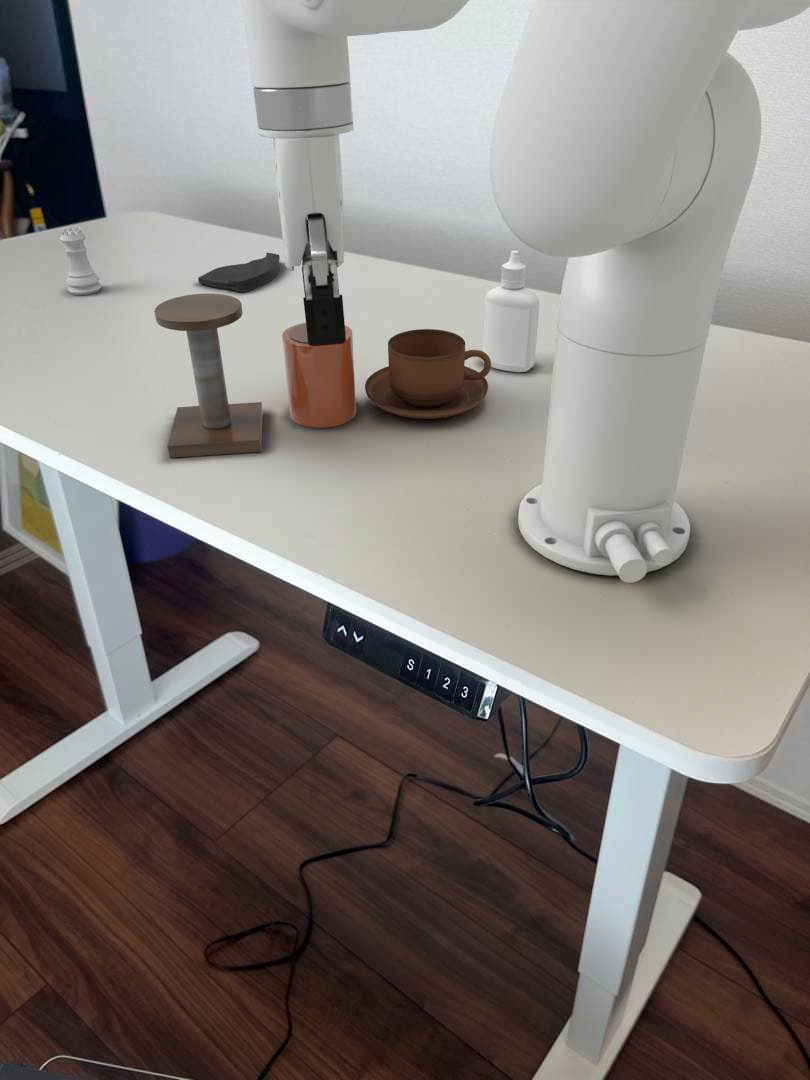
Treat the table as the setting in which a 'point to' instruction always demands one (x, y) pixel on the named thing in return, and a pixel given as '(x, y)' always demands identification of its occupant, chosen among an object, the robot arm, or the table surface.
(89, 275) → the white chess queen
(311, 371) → the terracotta cup
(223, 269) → the fan shaped piece
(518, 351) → the eye dropper bottle
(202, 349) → the cat scratching post
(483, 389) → the cup and saucer
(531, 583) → the table surface
